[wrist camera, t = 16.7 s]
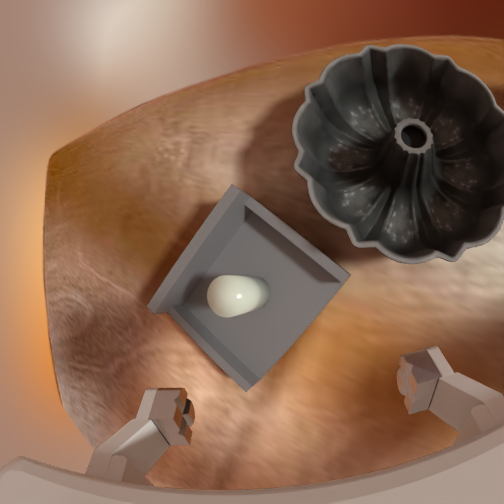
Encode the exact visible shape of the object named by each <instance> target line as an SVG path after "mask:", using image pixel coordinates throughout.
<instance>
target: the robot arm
mask: <svg viewBox="0 0 504 504" xmlns="http://www.w3.org/2000/svg"><path fill="white" fill-rule="evenodd" d="M399 364H400V369H399V370H398V371H397V385H398V389H399V391H400V394H402V395H404V396H405V399H404V404H405V406H406V408H407V411H408V413H409V414H413V413H417V412H420V411H423V410H427V409H429V411H431V412H432V413H434V414H435V415H436V416H438V417H439V418H440V419H442V420H443V421H444V422H446V423H447V424H448V425H450V426H451V427H452V428H454V429H455V430H457V431H458V432H459V434H458V436H457V438H456V440H455V441H454V443H453V445H452V446H450V447H448V448H445V449H443V450H440V451H438V452H435V453H432V454H429V455H427V456H424V457H421V458H418V459H415V460H412V461H409V462H405V463H402V464H399V465H395V466H392V467H388V468H385V469H381V470H377V471H373V472H369V473H365V474H361V475H356V476H351V477H347V478H342V479H336V480H331V481H325V482H319V483H312V484H305V485H297V486H288V487H278V488H265V489H247V490H196V489H178V488H166V487H156V486H154V485H153V484H152V483H151V482H150V481H149V480H148V479H147V478H146V477H145V475H146V474H147V473H148V472H149V470H150V469H151V468H152V467H153V466H154V465H155V463H156V462H157V461H158V460H159V459H160V458H161V456H162V455H163V454H164V453H165V452H166V451H167V449H168V448H169V447H170V446H169V445H190V442H191V436H192V431H191V429H190V426H191V425H192V424H193V423H194V419H195V412H194V407H193V404H192V402H191V401H190V400H189V399H187V392H186V390H185V388H147V389H146V390H145V392H144V395H143V398H142V401H141V404H140V407H139V410H138V413H137V416H136V419H131V420H130V421H129V422H128V423H127V424H125V425H124V426H123V427H122V428H121V429H119V430H118V431H117V432H116V433H115V434H113V435H112V436H111V437H110V438H109V439H107V440H106V441H105V442H104V443H103V444H101V445H100V446H99V447H98V448H96V449H95V450H94V452H93V454H92V457H91V460H90V462H89V465H88V468H87V471H86V474H81V473H77V472H73V471H69V470H66V469H62V468H59V467H55V466H52V465H48V464H45V463H42V462H39V461H36V460H33V459H30V458H27V457H23V456H19V457H17V458H15V459H13V460H11V461H10V462H9V463H7V464H6V465H4V466H3V467H2V468H0V504H504V396H503V395H502V393H499V392H497V391H495V390H493V389H491V388H489V387H487V386H485V385H483V384H481V383H479V382H477V381H475V380H473V379H471V378H469V377H467V376H465V375H463V374H461V373H459V372H456V373H454V372H453V370H452V368H451V367H450V365H449V363H448V362H447V360H446V359H445V357H444V356H443V354H442V352H441V351H440V349H439V348H438V347H437V346H433V347H429V348H426V349H422V350H419V351H415V352H412V353H408V354H405V355H401V356H400V359H399Z"/></svg>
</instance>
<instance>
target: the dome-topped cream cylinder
mask: <svg viewBox="0 0 504 504" xmlns="http://www.w3.org/2000/svg"><path fill="white" fill-rule="evenodd" d="M270 296H271V291H270V287H269V285H268V283H267V282H266V281H265V280H264V279H263V278H261V277H259V276H239V275H223V276H219V277H217V278H216V279H214V280H213V281H212V282H211V284H210V286H209V288H208V291H207V300H208V304H209V306H210V308H211V309H212V311H213V312H214V313H215V314H217V315H219V316H221V317H227V318H228V317H233V316H237V315H240V314H244V313H248V312H251V311H255V310H258V309H261V308H263V307H264V306H266V305H267V303H268V302H269V300H270Z"/></svg>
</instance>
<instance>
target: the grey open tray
mask: <svg viewBox="0 0 504 504" xmlns="http://www.w3.org/2000/svg"><path fill="white" fill-rule="evenodd" d="M223 275H239V276H259V277H261V278H263V279H264V280H265V281H266V282H267V283H268V285H269V287H270V291H271V296H270V300H269V302H268V303H267V305H266V306H264V307H263V308H261V309H258V310H255V311H251V312H248V313H244V314H240V315H237V316H233V317H228V318H227V317H221V316H219V315H217V314H215V313H214V312H213V311H212V309H211V308H210V306H209V304H208V300H207V291H208V288H209V286H210V284H211V282H212V281H213V280H214V279H216V278H217V277H219V276H223ZM350 276H351V274H349V273H348V272H347V271H346V270H345V269H343V268H342V267H341V266H340V265H338V264H337V263H336V262H335V261H334V260H332V259H331V258H330V257H329V256H327V255H326V254H325V253H324V252H322V251H321V250H320V249H319V248H317V247H316V246H315V245H314V244H312V243H311V242H310V241H309V240H307V239H306V238H305V237H304V236H302V235H301V234H300V233H298V232H297V231H296V230H295V229H293V228H292V227H291V226H290V225H288V224H287V223H286V222H284V221H283V220H282V219H281V218H279V217H278V216H277V215H275V214H274V213H273V212H271V211H270V210H269V209H268V208H266V207H265V206H264V205H262V204H261V203H260V202H258V201H257V200H256V199H254V198H253V197H251V196H250V195H248V194H247V193H245V192H244V191H242V190H240V189H239V188H237V187H236V186H234V185H233V184H231V186H230V187H229V188H228V190H227V191H226V192H225V194H224V195H223V196H222V198H221V199H220V201H219V202H218V203H217V205H216V206H215V207H214V209H213V210H212V212H211V213H210V214H209V216H208V217H207V219H206V220H205V221H204V223H203V224H202V226H201V227H200V228H199V230H198V231H197V233H196V234H195V236H194V237H193V238H192V240H191V241H190V243H189V244H188V246H187V247H186V249H185V250H184V251H183V253H182V254H181V256H180V257H179V259H178V260H177V262H176V263H175V265H174V266H173V268H172V269H171V270H170V272H169V273H168V275H167V276H166V278H165V279H164V281H163V282H162V284H161V285H160V287H159V288H158V290H157V291H156V293H155V295H154V296H153V298H152V299H151V301H150V302H149V304H148V305H147V307H148V308H149V309H150V311H151V312H152V313H153V314H159V313H166V312H167V313H168V314H169V315H170V316H171V317H172V318H173V319H174V320H175V321H176V323H177V324H178V325H179V326H180V327H181V328H182V329H183V330H184V331H185V332H186V333H187V334H188V335H189V336H190V337H191V338H192V339H193V340H194V342H195V343H196V344H197V345H198V346H199V347H200V348H201V349H202V350H203V351H204V352H205V353H206V354H207V355H208V356H209V357H210V358H211V359H212V360H213V361H214V362H215V363H216V364H217V365H218V366H219V367H220V368H221V369H222V370H223V371H224V372H225V373H227V374H228V375H229V376H230V377H231V378H232V379H233V380H234V381H235V382H236V383H237V384H238V385H239V386H240V387H241V388H242V389H243V390H244V391H246V392H247V391H248V390H249V389H250V388H251V387H253V386H254V385H255V384H256V383H257V382H258V381H260V380H261V379H262V377H263V376H264V375H265V374H266V373H267V372H268V371H269V370H270V369H271V368H272V367H273V366H274V365H275V364H276V362H277V361H278V360H279V359H280V358H281V357H282V356H283V355H284V354H285V353H286V352H287V350H288V349H289V348H290V347H291V346H292V345H293V344H294V343H295V341H296V340H297V339H298V338H299V337H300V336H301V335H302V334H303V332H304V331H305V330H306V329H307V328H308V327H309V325H310V324H311V323H312V322H313V321H314V320H315V318H316V317H317V316H318V315H319V314H320V313H321V311H322V310H323V309H324V308H325V307H326V305H327V304H328V303H329V302H330V301H331V299H332V298H333V297H334V296H335V294H336V293H337V292H338V291H339V290H340V288H341V287H342V286H343V285H344V283H345V282H346V281H347V280H348V278H349V277H350Z"/></svg>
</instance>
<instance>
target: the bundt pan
mask: <svg viewBox="0 0 504 504" xmlns="http://www.w3.org/2000/svg"><path fill="white" fill-rule="evenodd" d="M304 96H305V102H304V103H303V104H302V105H301V106H300V107H299V109H298V110H297V112H296V114H295V116H294V119H293V122H292V138H293V141H294V144H295V146H296V148H297V150H298V154H297V157H296V160H295V163H294V170H295V171H296V172H297V173H298V174H299V175H300V176H301V177H303V178H304V179H305V180H306V183H307V189H308V194H309V197H310V200H311V202H312V204H313V206H314V207H315V209H316V210H317V211H318V213H319V214H320V215H321V216H322V217H323V218H324V219H325V220H327V221H328V222H329V223H331V224H333V225H335V226H337V227H339V228H342V229H344V230H346V231H347V234H348V236H349V238H350V240H351V242H352V244H353V245H354V246H355V247H357V248H376V249H377V250H378V251H380V252H381V253H382V254H383V255H385V256H386V257H388V258H390V259H391V260H394V261H397V262H400V263H405V264H419V263H423V262H427V261H429V260H432V259H434V258H441V259H444V260H446V261H449V262H455V261H457V260H458V259H459V258H460V256H461V255H462V254H463V252H464V251H465V250H466V249H468V248H472V247H477V246H481V245H483V244H485V243H487V242H489V241H490V240H491V239H492V238H493V237H494V236H495V235H496V234H497V233H498V231H499V230H500V228H501V225H502V223H503V220H504V111H503V110H502V109H501V108H500V107H499V106H498V105H497V103H496V101H495V98H494V96H493V94H492V92H491V91H490V89H489V88H488V87H487V85H486V84H485V83H484V82H483V81H482V80H481V79H479V78H478V77H477V76H476V75H474V74H473V73H471V72H469V71H467V70H465V69H463V68H460V67H458V66H457V65H456V63H455V62H454V61H453V60H452V59H451V58H450V57H449V56H447V55H434V54H432V53H430V52H429V51H427V50H425V49H423V48H420V47H417V46H413V45H407V44H395V45H391V46H387V47H385V48H383V47H378V46H373V45H367V46H365V47H364V48H363V49H362V50H361V51H360V52H359V53H354V54H348V55H344V56H341V57H339V58H336V59H335V60H333V61H331V62H330V63H329V64H328V65H327V66H326V67H325V68H324V70H323V71H322V73H321V75H320V78H319V80H317V81H315V82H313V83H310V84H308V85H307V86H306V87H305V88H304Z"/></svg>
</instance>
